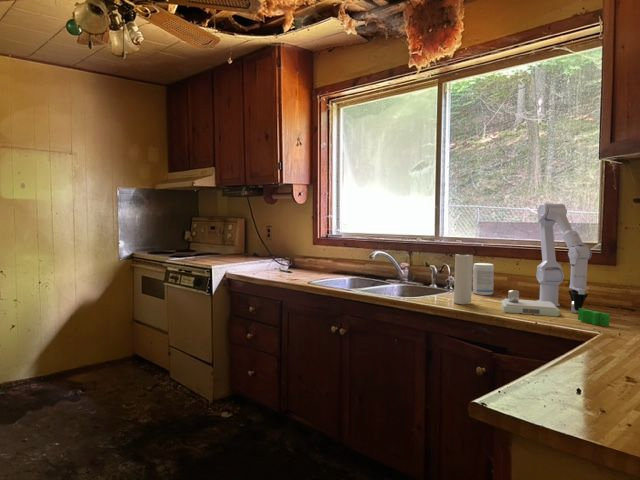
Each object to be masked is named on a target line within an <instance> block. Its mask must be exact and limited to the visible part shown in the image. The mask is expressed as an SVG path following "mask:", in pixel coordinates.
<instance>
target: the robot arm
mask: <svg viewBox="0 0 640 480" xmlns="http://www.w3.org/2000/svg"><path fill="white" fill-rule="evenodd" d="M536 211H537V222H538V224H539V226H538V227H539V234H540V235H539V237H540V248H541V258H542V260H541V261H542V262H541V263H540V264H538V265H537V266H536V273H535V274H536V275H535V276H536V280H537V281H538V284H540V285H539V299H537V300H536V301H547V302H552V303H553V304H554V305H555V306H556V307H561V305H560V303H559V285H561V283H562V282H563V281H564V277H565V275H564V272H563V271H564V270H563V268H562V267H563V266H562V265H561V264H560V263H559V262H558V261H557V258H556V247H555V246H556V245H555V234H554V225H556V224H557V226H558V227H559V228H560V230H561V231H562V233H563V235H562V239H563V241H564V244H565V245H566V246H567V248H568V250H569V251H567V255H568V258H569V264H570V278H569V279H570V280H569V287H568V288H569V290H567V292H568V294H569V296H570V301H571V303H572V301H574V308H575V310H576V311H578V310H579V308H582V307H583V306H584V303H585V301H586V299H587V298H588V293H586V290H590V289H591V287H589V286H587V280H588V277H587V276H588V260H590V259H591V258H592V254H593V253H592V249H591V247H590V246H589V245H587V244H586V243H584V242H583V240H582V238H581V237H580V235H579V233H578V231H576V230H573V227H572V226H571V224H570V222H569V219H568V217H567V212H568V209H567V207H566V205H565V204H564V203H546V202H542V203H541V204H539V207H538V208H537V210H536ZM571 289H572V290H571Z"/></svg>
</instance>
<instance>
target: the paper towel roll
mask: <svg viewBox="0 0 640 480" xmlns="http://www.w3.org/2000/svg"><path fill="white" fill-rule="evenodd" d="M454 259H455V260H454V285H453V288H454V289H453V303H454V304H457V305H469V304H470V303H472V293H473V266H474V262H473V261H474V254H465V253H459V254H458V253H457V254H456V253H455V257H454Z"/></svg>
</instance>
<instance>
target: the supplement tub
mask: <svg viewBox="0 0 640 480" xmlns="http://www.w3.org/2000/svg"><path fill="white" fill-rule="evenodd" d="M494 275H495V267H494V264H493V263H486V262H477V263H474V262H473V267H472V293H473V294H475V295H480V296H492V295H494V283H495V281H494V280H495V279H494V278H495V277H494Z"/></svg>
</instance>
